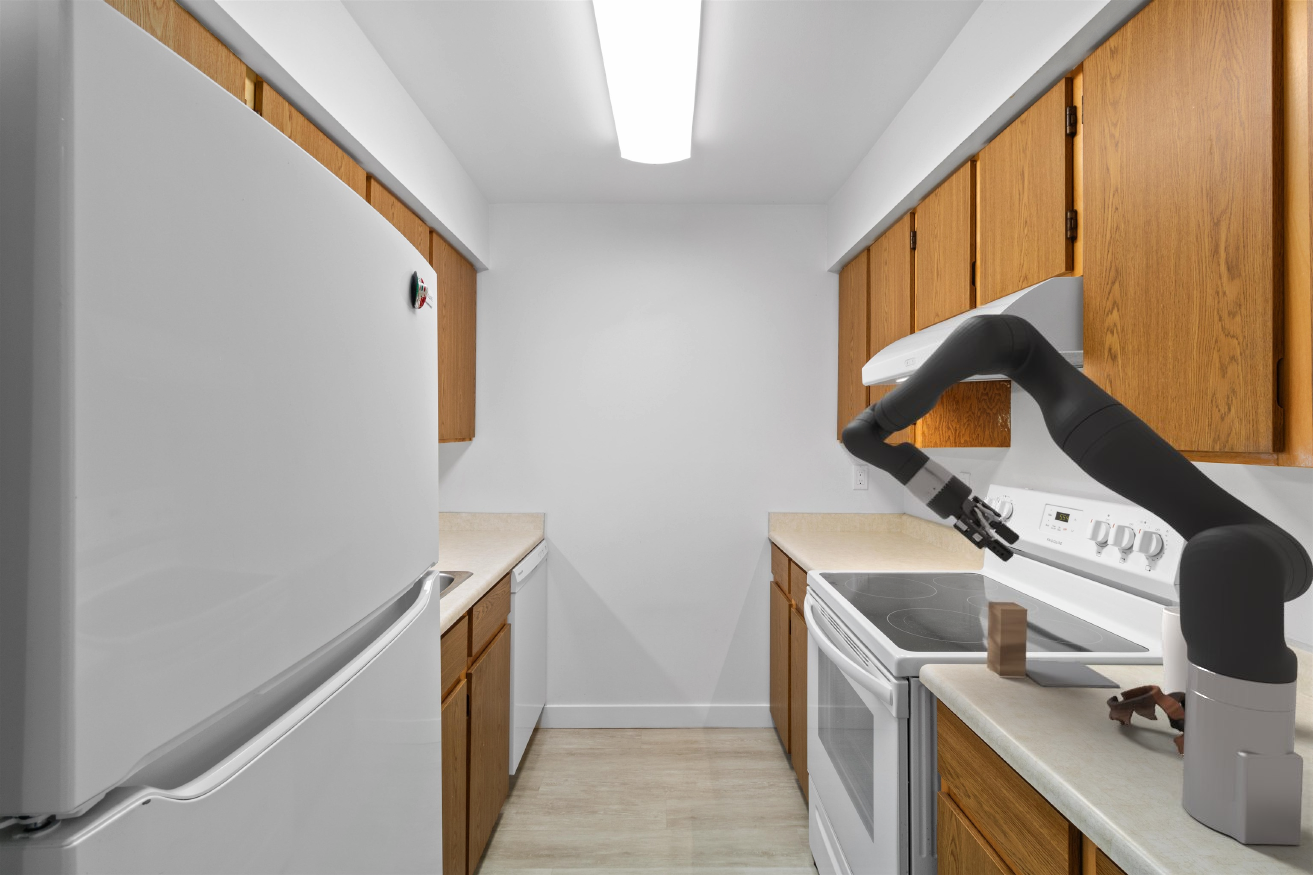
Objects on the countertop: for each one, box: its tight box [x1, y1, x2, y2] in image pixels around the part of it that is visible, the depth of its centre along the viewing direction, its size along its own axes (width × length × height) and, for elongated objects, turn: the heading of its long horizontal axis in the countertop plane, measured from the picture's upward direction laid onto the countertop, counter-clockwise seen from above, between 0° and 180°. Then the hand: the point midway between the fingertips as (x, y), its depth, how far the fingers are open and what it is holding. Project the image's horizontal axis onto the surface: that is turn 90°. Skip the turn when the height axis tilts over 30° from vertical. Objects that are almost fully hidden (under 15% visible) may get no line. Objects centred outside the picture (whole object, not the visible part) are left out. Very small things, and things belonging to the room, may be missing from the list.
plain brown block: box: [986, 601, 1028, 679], centre depth 117 cm, size 4×4×12 cm
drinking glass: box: [1160, 605, 1187, 705], centre depth 104 cm, size 7×7×15 cm
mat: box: [1026, 660, 1121, 689], centre depth 117 cm, size 12×13×1 cm
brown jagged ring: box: [1105, 684, 1186, 755], centre depth 94 cm, size 12×10×8 cm
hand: (1013, 549), depth 117 cm, fingers open, 8 cm apart
